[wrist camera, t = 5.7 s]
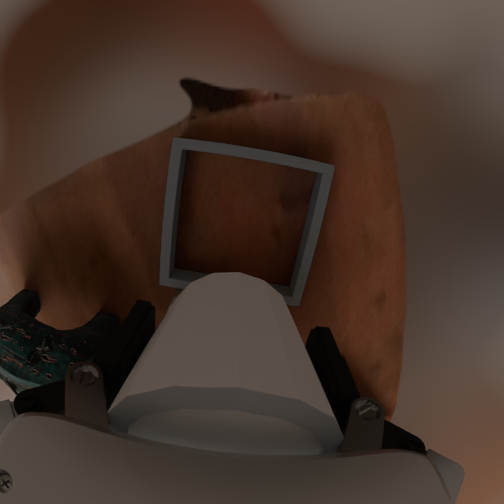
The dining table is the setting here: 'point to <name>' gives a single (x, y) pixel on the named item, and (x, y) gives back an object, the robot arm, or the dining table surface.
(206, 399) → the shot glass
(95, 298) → the dining table surface
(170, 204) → the dark grey square frame
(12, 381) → the ceramic cat
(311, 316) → the dining table surface
